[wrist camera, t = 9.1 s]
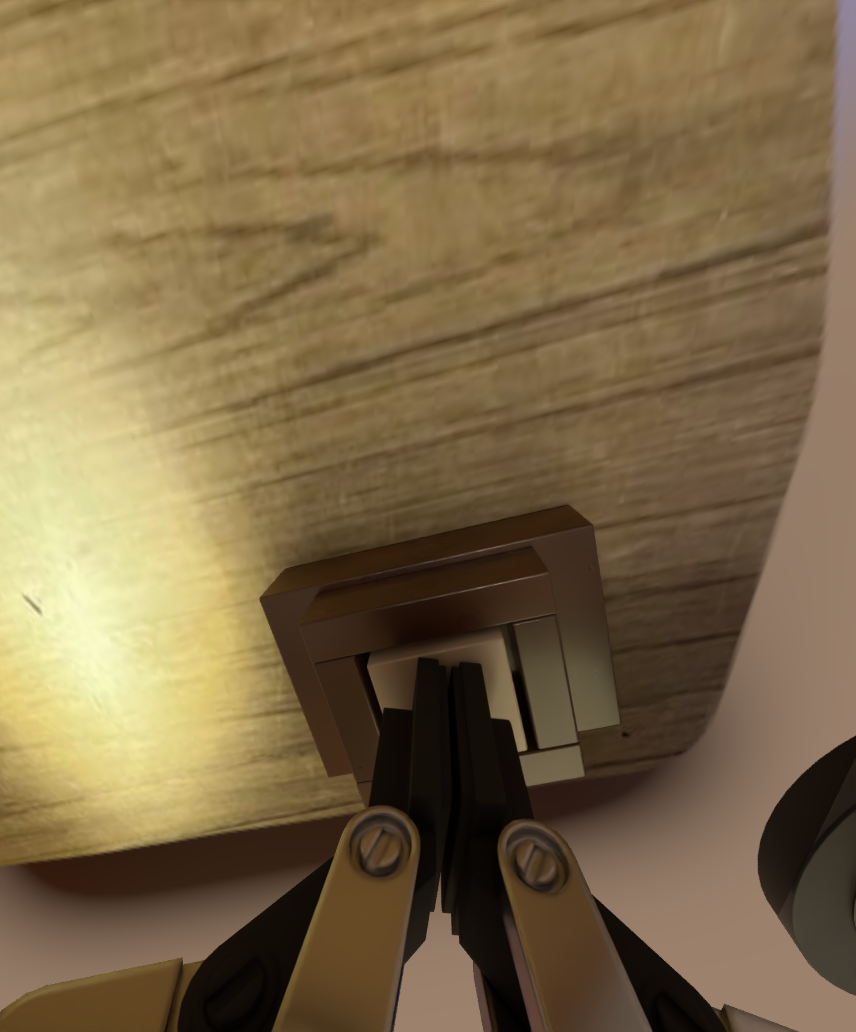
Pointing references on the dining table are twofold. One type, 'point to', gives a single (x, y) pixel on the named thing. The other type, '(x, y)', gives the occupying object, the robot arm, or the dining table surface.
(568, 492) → the dining table surface
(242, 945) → the robot arm
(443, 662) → the key
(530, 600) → the block
